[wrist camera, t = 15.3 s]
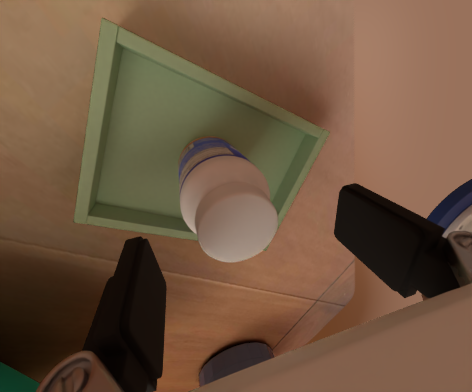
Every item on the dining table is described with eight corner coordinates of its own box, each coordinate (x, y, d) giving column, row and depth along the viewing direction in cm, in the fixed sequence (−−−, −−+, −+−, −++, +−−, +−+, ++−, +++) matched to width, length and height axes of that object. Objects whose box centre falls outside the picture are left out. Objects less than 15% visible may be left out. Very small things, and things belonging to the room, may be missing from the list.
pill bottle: (245, 180, 20) (301, 246, 11) (192, 202, 19) (210, 289, 11) (227, 124, 17) (283, 157, 9) (165, 148, 16) (159, 210, 8)
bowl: (282, 337, 37) (297, 369, 33) (253, 379, 41) (262, 413, 37) (214, 341, 32) (221, 380, 27) (188, 389, 36) (191, 430, 32)
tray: (311, 127, 20) (330, 132, 18) (256, 235, 24) (266, 251, 22) (113, 29, 13) (101, 16, 11) (86, 204, 17) (73, 222, 15)
